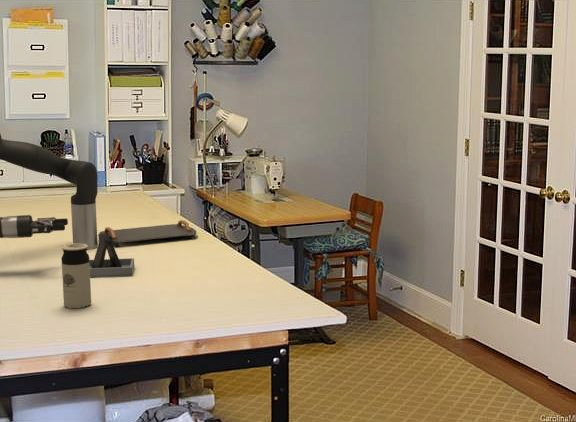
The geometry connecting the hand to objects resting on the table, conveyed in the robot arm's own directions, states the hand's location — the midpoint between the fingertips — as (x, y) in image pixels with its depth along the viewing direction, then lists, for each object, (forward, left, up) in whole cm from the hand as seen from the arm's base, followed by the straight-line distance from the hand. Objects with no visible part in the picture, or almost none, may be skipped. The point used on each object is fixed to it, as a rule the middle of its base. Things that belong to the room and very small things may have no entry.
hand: (66, 224), depth 315 cm
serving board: (-51, +25, -17) cm, 59 cm away
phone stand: (+2, +13, -16) cm, 21 cm away
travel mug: (+44, +8, -17) cm, 47 cm away
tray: (+4, +14, -16) cm, 22 cm away
